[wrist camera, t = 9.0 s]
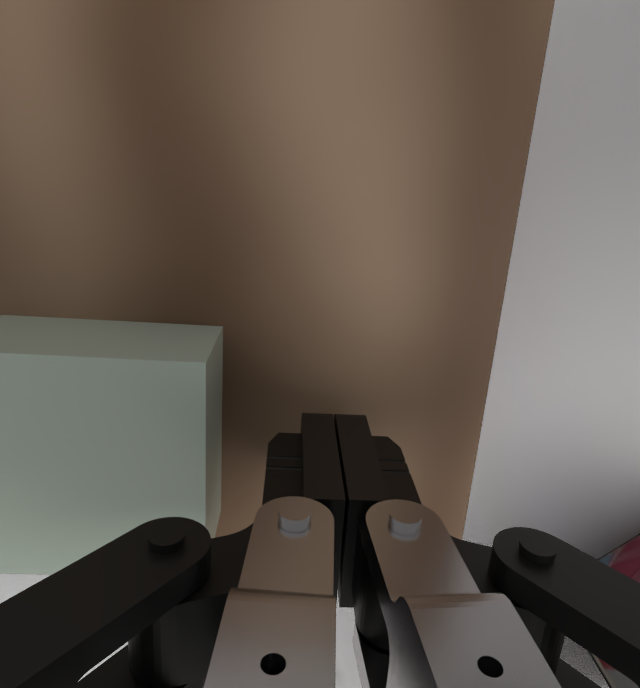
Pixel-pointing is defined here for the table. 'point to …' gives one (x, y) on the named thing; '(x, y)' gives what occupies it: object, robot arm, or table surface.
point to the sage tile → (104, 433)
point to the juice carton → (635, 562)
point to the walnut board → (281, 202)
